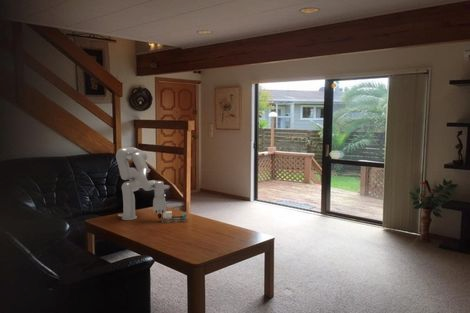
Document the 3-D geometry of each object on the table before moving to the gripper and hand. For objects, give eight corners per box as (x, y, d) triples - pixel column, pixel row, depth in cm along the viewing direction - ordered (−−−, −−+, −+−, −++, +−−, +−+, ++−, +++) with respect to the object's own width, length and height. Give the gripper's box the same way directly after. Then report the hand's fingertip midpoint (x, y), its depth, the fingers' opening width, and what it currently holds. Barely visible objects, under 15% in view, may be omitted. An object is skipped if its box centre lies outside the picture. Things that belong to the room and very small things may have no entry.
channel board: (161, 223, 313) (161, 216, 312) (161, 219, 325) (161, 213, 324) (186, 222, 316) (186, 215, 316) (185, 218, 328) (185, 212, 328)
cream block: (163, 220, 317) (163, 212, 316) (163, 218, 321) (163, 211, 321) (171, 219, 318) (171, 212, 317) (171, 218, 322) (171, 211, 322)
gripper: (168, 195, 321) (168, 216, 323) (150, 195, 319) (150, 217, 321) (168, 196, 314) (169, 219, 316) (149, 197, 312) (150, 219, 313)
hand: (159, 218), depth 318 cm, fingers closed
